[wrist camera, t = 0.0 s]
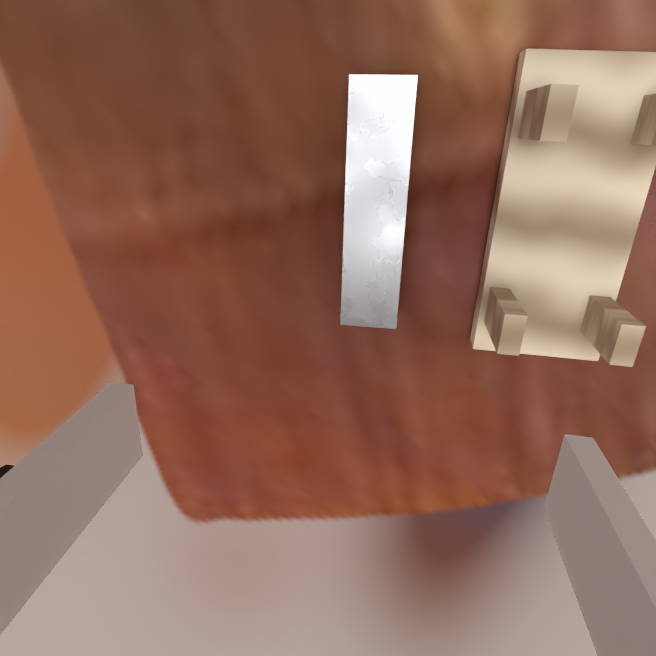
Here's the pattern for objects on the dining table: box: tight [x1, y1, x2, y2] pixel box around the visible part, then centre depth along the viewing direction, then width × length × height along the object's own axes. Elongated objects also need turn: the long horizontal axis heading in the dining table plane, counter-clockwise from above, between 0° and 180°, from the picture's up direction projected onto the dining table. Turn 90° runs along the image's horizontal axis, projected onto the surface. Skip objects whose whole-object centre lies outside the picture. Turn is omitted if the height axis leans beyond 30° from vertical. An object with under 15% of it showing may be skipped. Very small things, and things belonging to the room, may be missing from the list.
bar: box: [340, 74, 418, 329], centre depth 37 cm, size 18×4×4 cm, turn 179°
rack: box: [470, 49, 656, 367], centre depth 34 cm, size 22×10×8 cm, turn 177°
